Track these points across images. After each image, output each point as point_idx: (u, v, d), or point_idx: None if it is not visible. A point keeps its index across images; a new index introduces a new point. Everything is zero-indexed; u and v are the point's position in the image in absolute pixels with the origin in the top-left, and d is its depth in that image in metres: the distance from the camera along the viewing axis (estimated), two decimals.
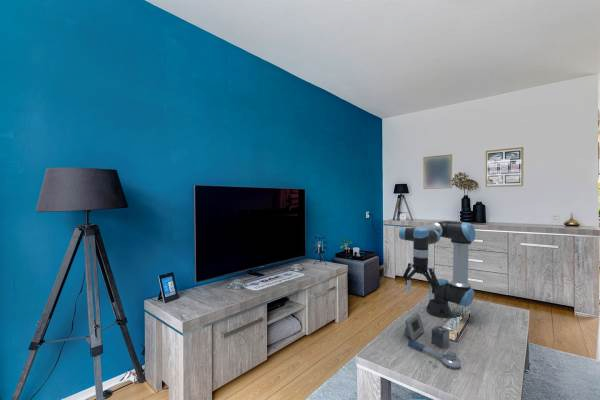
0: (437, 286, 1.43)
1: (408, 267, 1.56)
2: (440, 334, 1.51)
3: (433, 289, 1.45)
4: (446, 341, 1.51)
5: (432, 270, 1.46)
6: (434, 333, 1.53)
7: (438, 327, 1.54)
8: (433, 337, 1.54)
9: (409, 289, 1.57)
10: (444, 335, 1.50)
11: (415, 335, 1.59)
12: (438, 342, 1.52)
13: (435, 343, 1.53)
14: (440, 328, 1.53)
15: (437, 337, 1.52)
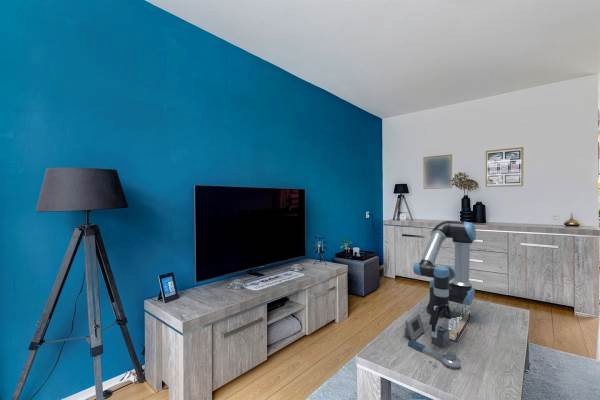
0: (429, 323, 1.48)
1: None
2: (440, 334, 1.51)
3: None
4: (446, 341, 1.51)
5: (434, 308, 1.49)
6: None
7: (438, 327, 1.54)
8: (433, 337, 1.54)
9: (445, 327, 1.57)
10: (444, 335, 1.50)
11: (415, 335, 1.59)
12: (438, 342, 1.52)
13: (435, 343, 1.53)
14: (440, 328, 1.53)
15: (437, 337, 1.52)
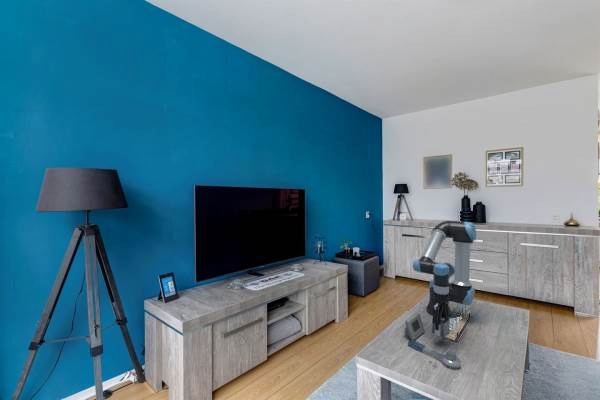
0: None
1: None
2: (440, 323, 1.51)
3: None
4: (446, 330, 1.52)
5: (434, 308, 1.50)
6: None
7: None
8: (433, 327, 1.54)
9: None
10: (444, 324, 1.50)
11: (415, 335, 1.59)
12: None
13: None
14: (440, 318, 1.53)
15: None
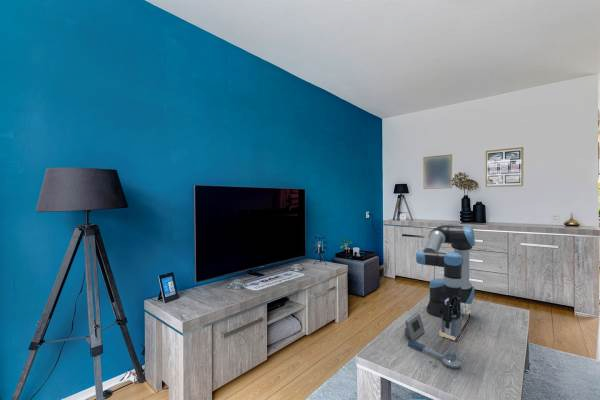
0: (443, 320, 1.32)
1: None
2: (452, 321, 1.32)
3: None
4: (458, 329, 1.33)
5: (445, 303, 1.31)
6: None
7: None
8: (443, 325, 1.35)
9: None
10: (456, 322, 1.31)
11: (415, 335, 1.58)
12: None
13: None
14: None
15: None
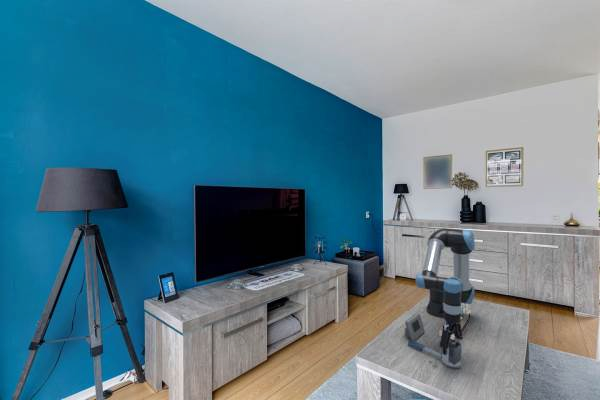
0: (440, 345, 1.31)
1: None
2: (451, 348, 1.33)
3: None
4: (458, 356, 1.33)
5: (444, 328, 1.31)
6: None
7: None
8: None
9: None
10: (456, 349, 1.32)
11: (415, 335, 1.58)
12: (449, 357, 1.34)
13: None
14: (451, 341, 1.35)
15: None
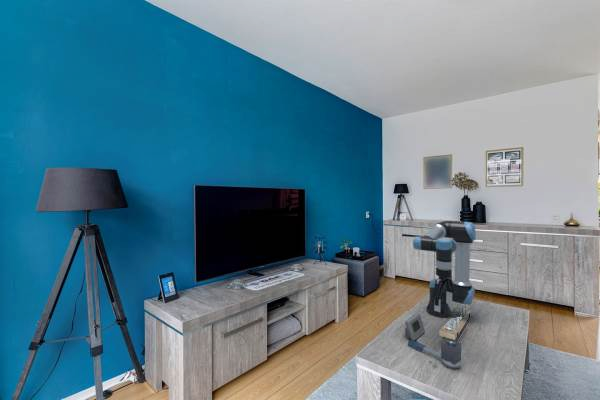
0: (432, 297, 1.42)
1: None
2: (451, 348, 1.33)
3: None
4: (458, 356, 1.33)
5: (437, 282, 1.43)
6: (444, 347, 1.35)
7: (449, 340, 1.36)
8: (443, 351, 1.36)
9: (448, 301, 1.52)
10: (456, 349, 1.32)
11: (415, 336, 1.58)
12: (449, 357, 1.34)
13: (445, 358, 1.35)
14: (451, 341, 1.35)
15: (448, 352, 1.34)
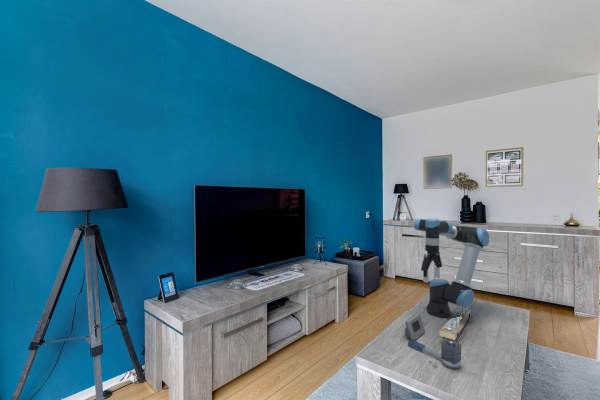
0: (421, 269, 1.61)
1: None
2: (451, 348, 1.33)
3: None
4: (458, 356, 1.33)
5: (425, 256, 1.62)
6: (444, 347, 1.35)
7: (449, 340, 1.36)
8: (443, 351, 1.36)
9: (436, 275, 1.70)
10: (456, 349, 1.32)
11: (415, 336, 1.58)
12: (449, 357, 1.34)
13: (445, 358, 1.35)
14: (451, 341, 1.35)
15: (448, 352, 1.34)
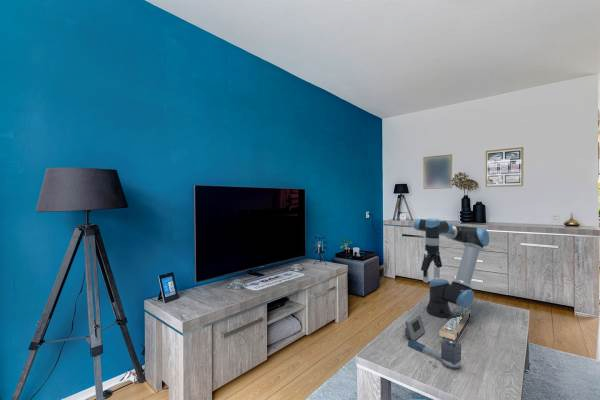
0: (421, 269, 1.61)
1: None
2: (451, 348, 1.33)
3: None
4: (458, 356, 1.33)
5: (425, 256, 1.62)
6: (444, 347, 1.35)
7: (449, 340, 1.36)
8: (443, 351, 1.36)
9: (436, 275, 1.70)
10: (456, 349, 1.32)
11: (415, 336, 1.58)
12: (449, 357, 1.34)
13: (445, 358, 1.35)
14: (451, 341, 1.35)
15: (448, 352, 1.34)
